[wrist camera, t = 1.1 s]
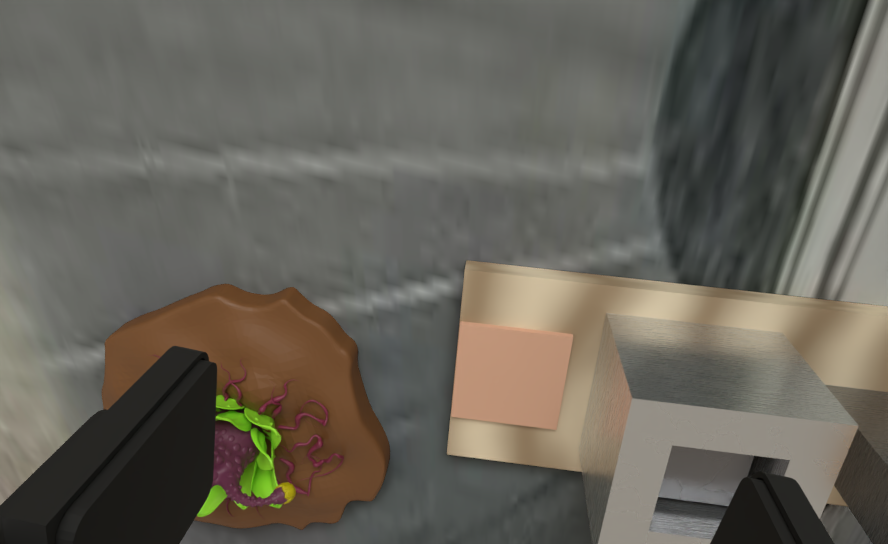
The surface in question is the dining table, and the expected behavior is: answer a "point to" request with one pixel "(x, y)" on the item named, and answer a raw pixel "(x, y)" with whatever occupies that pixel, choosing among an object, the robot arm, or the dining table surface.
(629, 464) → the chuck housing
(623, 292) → the base board
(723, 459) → the plunger
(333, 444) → the plant
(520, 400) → the terracotta mat
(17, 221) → the dining table surface
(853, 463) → the grey square peg
